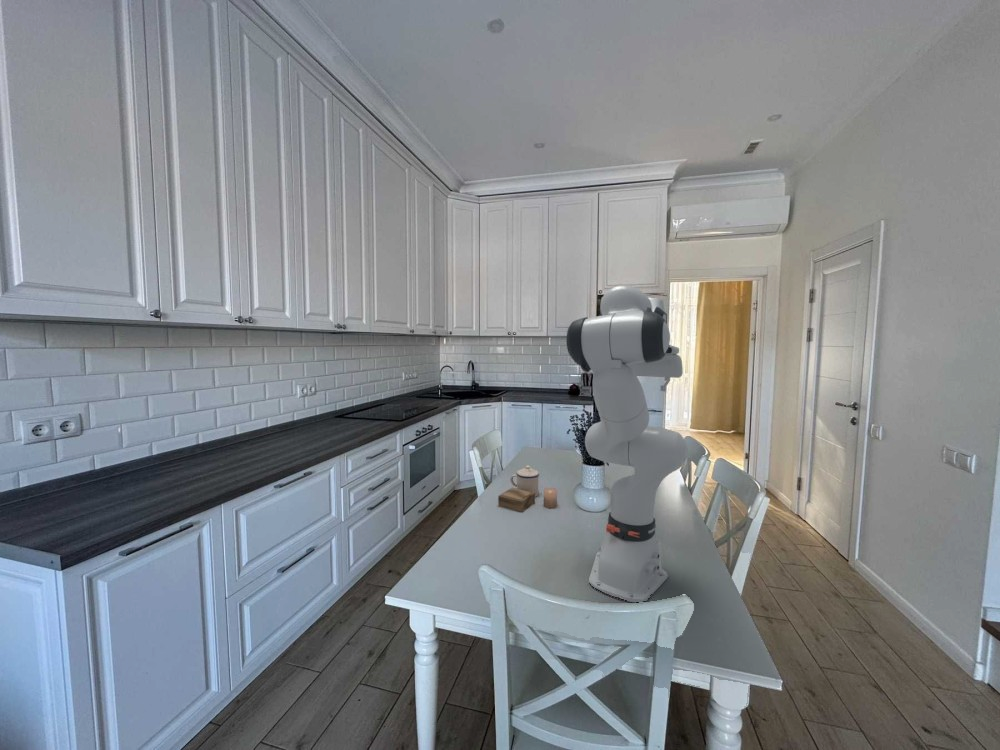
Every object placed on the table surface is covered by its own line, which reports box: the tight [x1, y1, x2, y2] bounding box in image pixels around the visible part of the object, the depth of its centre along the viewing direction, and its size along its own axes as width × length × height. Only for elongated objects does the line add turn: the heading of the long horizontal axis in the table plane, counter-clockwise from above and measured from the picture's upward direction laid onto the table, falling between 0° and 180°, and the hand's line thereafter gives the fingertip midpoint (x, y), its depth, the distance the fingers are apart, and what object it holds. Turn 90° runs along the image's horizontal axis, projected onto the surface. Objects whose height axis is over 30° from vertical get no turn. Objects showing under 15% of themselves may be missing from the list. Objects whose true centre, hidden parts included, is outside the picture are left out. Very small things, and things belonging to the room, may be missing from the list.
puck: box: [543, 487, 558, 510], centre depth 147 cm, size 5×5×6 cm
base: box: [497, 487, 536, 513], centre depth 148 cm, size 10×10×4 cm
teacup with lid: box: [510, 464, 540, 498], centre depth 158 cm, size 12×9×12 cm
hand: (648, 390), depth 130 cm, fingers open, 8 cm apart
